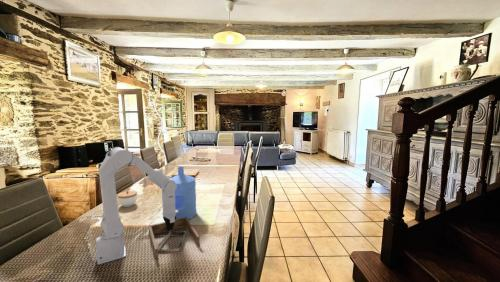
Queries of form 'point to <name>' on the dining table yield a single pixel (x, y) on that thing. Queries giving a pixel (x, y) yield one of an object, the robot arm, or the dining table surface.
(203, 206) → the dining table surface
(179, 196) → the water jug
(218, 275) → the dining table surface
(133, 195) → the lidded jar
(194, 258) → the dining table surface
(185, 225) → the walnut u-shaped frame
